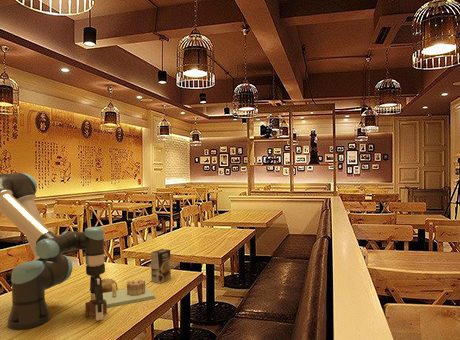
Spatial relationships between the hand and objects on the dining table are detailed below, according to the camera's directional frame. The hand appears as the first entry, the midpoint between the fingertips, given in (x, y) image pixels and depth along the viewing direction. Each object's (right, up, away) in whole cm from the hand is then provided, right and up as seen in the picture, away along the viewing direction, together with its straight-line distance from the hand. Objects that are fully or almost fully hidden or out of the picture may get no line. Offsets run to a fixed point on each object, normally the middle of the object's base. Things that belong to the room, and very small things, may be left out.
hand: (96, 314), depth 159 cm
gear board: (+7, 0, +19) cm, 20 cm away
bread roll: (-6, 0, +29) cm, 30 cm away
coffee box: (+19, +1, +44) cm, 48 cm away
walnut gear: (0, 0, 0) cm, 0 cm away
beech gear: (+11, +2, +21) cm, 24 cm away
